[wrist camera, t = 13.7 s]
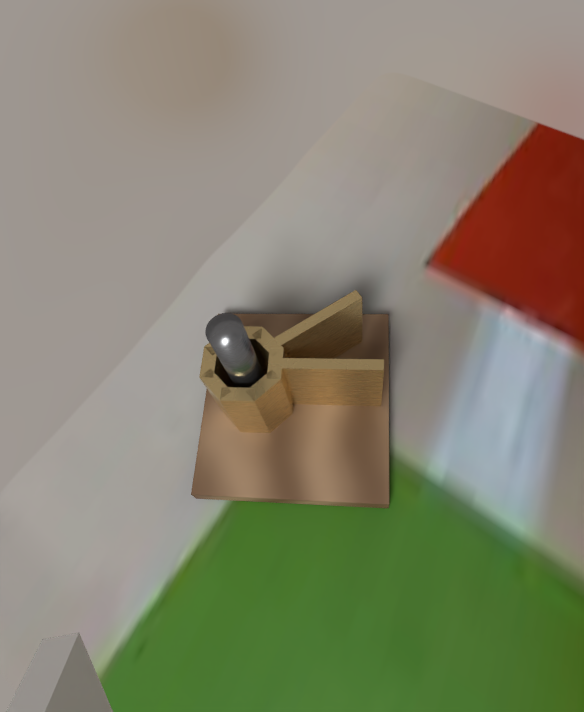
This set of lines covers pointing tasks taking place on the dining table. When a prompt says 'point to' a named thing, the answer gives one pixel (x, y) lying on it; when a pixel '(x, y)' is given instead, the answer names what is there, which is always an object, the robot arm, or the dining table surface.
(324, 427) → the walnut board
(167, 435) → the dining table surface
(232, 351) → the hinge pin
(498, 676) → the dining table surface
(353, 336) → the brass hinge
